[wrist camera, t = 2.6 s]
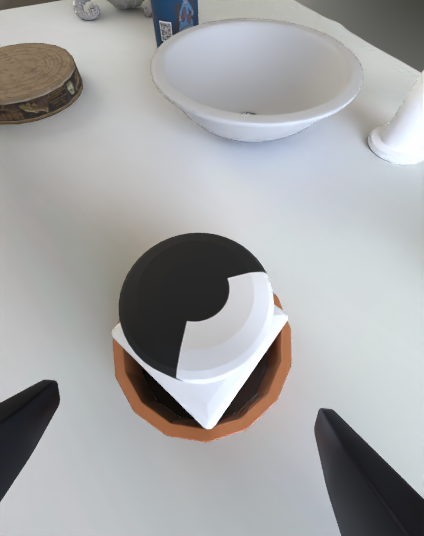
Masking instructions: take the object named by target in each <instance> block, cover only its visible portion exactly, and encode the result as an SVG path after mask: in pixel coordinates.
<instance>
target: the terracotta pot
mask: <svg viewBox="0 0 424 536" xmlns="http://www.w3.org/2000/svg"><path fill="white" fill-rule="evenodd" d="M273 299H274V304H275V305H276V306H277V307H279V308H280V309H282V306H281V304H280V302H279V299H278V298H277V296H276V295H275V294H274V293H273ZM282 310H283V309H282ZM119 323H120V318H119V321H118V324H119ZM113 351H114V365H115V376H116V379H117V381H118V383H119V385H120V386H121V388H122V390H123V392H124V394H125V396H126V398H127V400H128V402H129V403H130V405H131V407H132V409H133V411H134V412H135V413H136V414H138V415H139V416H140V417H142V418H143V419H144V420H146V421H147V422H148V423H150V424H151V425H153V426H154V427H155V428H157V429H158V430H159V431H161V432H162V433H163V434H165V435H167V436H171V437H177V438H183V439H189V440H195V441H201V442H211V441H214V440H217V439H220V438H223V437H226V436H229V435H232V434H235V433H239V432H242V431H245V430H247V429H248V428H249V427H251V426H252V425H253V424H254V423H255V422H256V421H257V420H258V419H259V418H260V417H261V416H262V415H263V414H264V413H265V412H266V411H267V410H268V409H269V408H270V407H271V406H272V405H273V404H275V403H276V401H277V400H278V397H279V395H280V392H281V390H282V387H283V385H284V382H285V380H286V377H287V375H288V372H289V370H290V367H291V329H290V326H289V323H288V321H287V322H286V323H285V325H284V326H283V328H282V329H281V330H280V332H279V333H278V335H277V336H276V338H275V339H274V341H273V342H272V343H271V345H270V346H269V348H268V352H267V370H266V372H265V374H264V377H263V379H262V381H261V384H260V386H259V388H258V390H257V393H256V394H255V395H254V396H253V397H252V398H251V399H250V400H249V401H248V402H247V403H245V404H244V405H243V406H242V407H241V408H240V409H239V410H238V411H237V412H236V413H234V414H230V415H227V416H224V417H221V418H220V419H219V420H218V422H217V423H216V425H215V426H214V427H213V428H212V429H206V428H204V427H203V426H202V425H201V424H200V423H199V422H198V421H197V420H196V419H189V418H183V417H179V416H178V415H177V414H175V413H174V412H172V411H171V410H170V409H168V408H167V407H165V406H164V405H162V404H161V403H160V402H158V401H157V399H156V398H155V396H154V394H153V393H152V391H151V389H150V387H149V386H148V384H147V382H146V380H145V379H144V376H143V368H142V366H141V365H140V364H139V363H138V362H137V361H136V360H135V359H134V358H133V357H132V356H131V355H130V354H129V353H128V352H127V351H126V350H125V349H124V348H123V347H122V346H121V345H120V344H119V343H118V342H117V341H116V340H115V339H114V338H113Z"/></svg>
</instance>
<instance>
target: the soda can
mask: <svg viewBox="0 0 424 536" xmlns="http://www.w3.org/2000/svg"><path fill="white" fill-rule="evenodd" d="M150 4H151V10H152V17H153V23H154V29H155V36H156V42H157V49H158V47H159V46H160V45H161V44H162V43H163V42H165V41H166V40H167V39H169V38H170V37H172V36H173V35H175V34H177V33H179V32H181V31H183V30H185V29H188V28H191V27H194V26H197V25H198V0H150Z"/></svg>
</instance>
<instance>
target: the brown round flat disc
mask: <svg viewBox="0 0 424 536" xmlns="http://www.w3.org/2000/svg"><path fill="white" fill-rule="evenodd" d="M82 89H83V84H82V79H81V76H80V74H79V72H78V69H77V67H76V64H75V62H74V59H73V57H72V55H71V54H70V53H69V52H68V51H67V50H65V49H63V48H61V47H58V46H56V45H50V44H44V43H23V44H16V45H9V46H5V47H1V48H0V124H20V123H26V122H31V121H37V120H40V119H43V118H46V117H48V116H51V115H54V114H56V113H58V112H60V111H61V110H63V109H65V108H67V107H68V106H70V105H71V104H72V103H73V102H74V101H75V100H76V99H77V98H78V97H79V95H80V93H81V91H82Z"/></svg>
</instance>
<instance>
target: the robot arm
mask: <svg viewBox="0 0 424 536" xmlns="http://www.w3.org/2000/svg"><path fill="white" fill-rule="evenodd" d="M59 403H60V395H59V389H58V383H57V382H56V381H54V380H42V381H40V382H38V383H36V384H35V385H33V386H31V387H29V388H27V389H25V390H23V391H22V392H20V393H18V394H16V395H14V396H12V397H10V398H8V399H7V400H5V401H3V402H1V403H0V502H1V500H2V499H3V497H4V496H5V494H6V493H7V491H8V489H9V488H10V486H11V485H12V483H13V482H14V480H15V479H16V477H17V476H18V474H19V473H20V471H21V470H22V468H23V467H24V465H25V464H26V462H27V461H28V459H29V458H30V456H31V454H32V453H33V451H34V449H35V448H36V446H37V444H38V442H39V440H40V439H41V437H42V435H43V433H44V431H45V429H46V428H47V426H48V424H49V422H50V420H51V419H52V417H53V415H54V413H55V411H56V410H57V408H58V406H59ZM314 432H315V438H316V442H317V447H318V451H319V456H320V460H321V465H322V469H323V474H324V478H325V483H326V487H327V491H328V494H329V498H330V501H331V504H332V507H333V511H334V514H335V517H336V520H337V523H338V526H339V530H340V533H341V536H424V499H423V498H422V497H421V496H420V495H419V494H418V493H417V492H416V491H415V490H414V489H413V488H412V487H411V486H410V485H409V484H408V483H407V482H406V481H405V480H404V479H403V478H402V477H401V476H400V475H399V474H398V473H397V472H396V471H395V470H394V469H393V468H392V467H391V466H390V465H389V464H388V463H387V462H386V461H385V460H384V459H383V458H382V457H381V456H380V455H379V454H378V453H377V452H376V451H375V450H374V449H373V448H372V447H370V446H369V445H368V444H367V443H366V442H365V441H364V440H363V439H362V438H361V437H360V436H359V435H358V434H357V433H356V432H355V431H354V430H353V429H352V428H351V427H350V426H349V425H348V424H347V423H346V422H345V421H344V420H343V419H342V418H341V417H340V416H339V415H338V414H337V413H336V412H335V411H334V410H332V409H325V408H320V409H319V411H318V415H317V419H316V423H315V427H314Z"/></svg>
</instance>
